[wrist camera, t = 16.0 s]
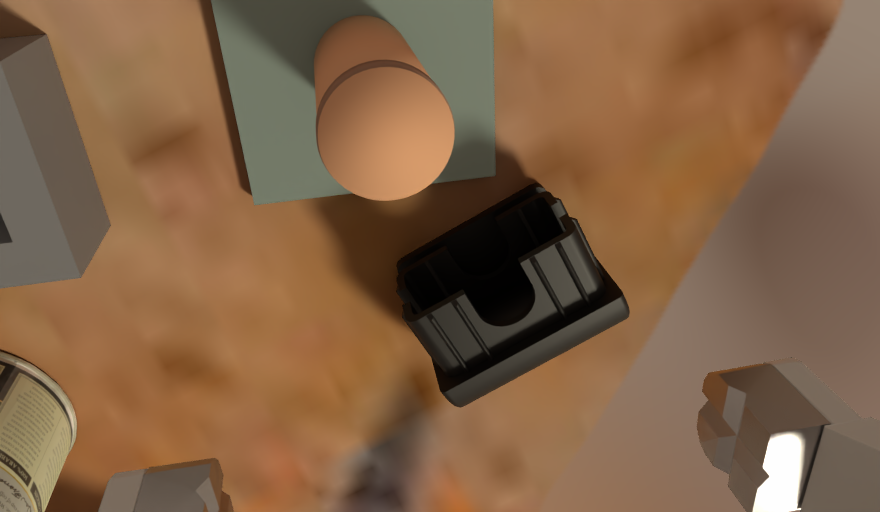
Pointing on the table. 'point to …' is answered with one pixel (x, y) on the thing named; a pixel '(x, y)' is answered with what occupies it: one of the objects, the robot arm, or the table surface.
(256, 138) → the mat
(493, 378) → the end cap
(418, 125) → the plug
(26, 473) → the coffee can
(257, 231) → the table surface
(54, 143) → the grey holed block
